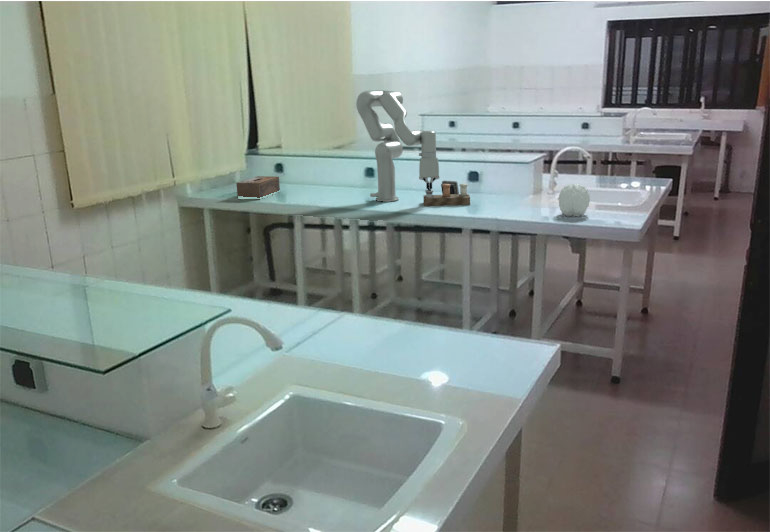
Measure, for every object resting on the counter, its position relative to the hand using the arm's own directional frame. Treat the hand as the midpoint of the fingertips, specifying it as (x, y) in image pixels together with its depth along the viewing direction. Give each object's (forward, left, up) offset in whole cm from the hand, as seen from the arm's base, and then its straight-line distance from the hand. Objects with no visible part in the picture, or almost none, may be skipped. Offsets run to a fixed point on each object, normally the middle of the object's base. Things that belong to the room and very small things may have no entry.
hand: (429, 190), depth 343 cm
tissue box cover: (-100, +40, -8) cm, 108 cm away
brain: (+67, -35, -8) cm, 76 cm away
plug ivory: (+18, 0, -4) cm, 18 cm away
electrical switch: (+12, +20, -8) cm, 25 cm away
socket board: (+9, 0, -7) cm, 12 cm away
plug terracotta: (+9, 0, -4) cm, 10 cm away
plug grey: (0, 0, -7) cm, 7 cm away
